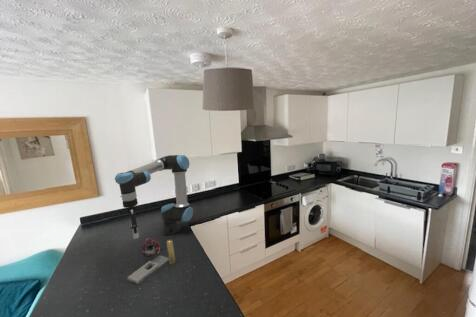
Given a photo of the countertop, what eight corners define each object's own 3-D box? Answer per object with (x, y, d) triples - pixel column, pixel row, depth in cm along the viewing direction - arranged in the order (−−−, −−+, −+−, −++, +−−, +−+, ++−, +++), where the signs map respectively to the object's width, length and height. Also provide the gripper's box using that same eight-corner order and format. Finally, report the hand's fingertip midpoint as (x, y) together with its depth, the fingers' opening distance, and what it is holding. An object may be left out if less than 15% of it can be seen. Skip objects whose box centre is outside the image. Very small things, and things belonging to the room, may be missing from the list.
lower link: (159, 256, 134) (159, 255, 134) (169, 259, 130) (168, 258, 130) (139, 271, 121) (139, 270, 121) (149, 275, 117) (149, 274, 117)
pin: (172, 260, 129) (169, 238, 127) (176, 261, 128) (173, 239, 126) (168, 263, 126) (165, 241, 124) (172, 264, 125) (169, 242, 122)
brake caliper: (140, 257, 132) (140, 238, 137) (144, 258, 141) (144, 240, 147) (158, 253, 134) (158, 234, 140) (161, 254, 144) (160, 237, 149)
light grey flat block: (150, 263, 128) (149, 260, 128) (160, 266, 124) (159, 263, 123) (127, 280, 114) (127, 277, 114) (138, 284, 110) (137, 281, 110)
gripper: (121, 195, 124) (127, 227, 127) (123, 207, 103) (129, 244, 106) (134, 192, 128) (140, 223, 131) (138, 203, 107) (144, 239, 110)
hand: (135, 233), depth 118 cm, fingers open, 13 cm apart
